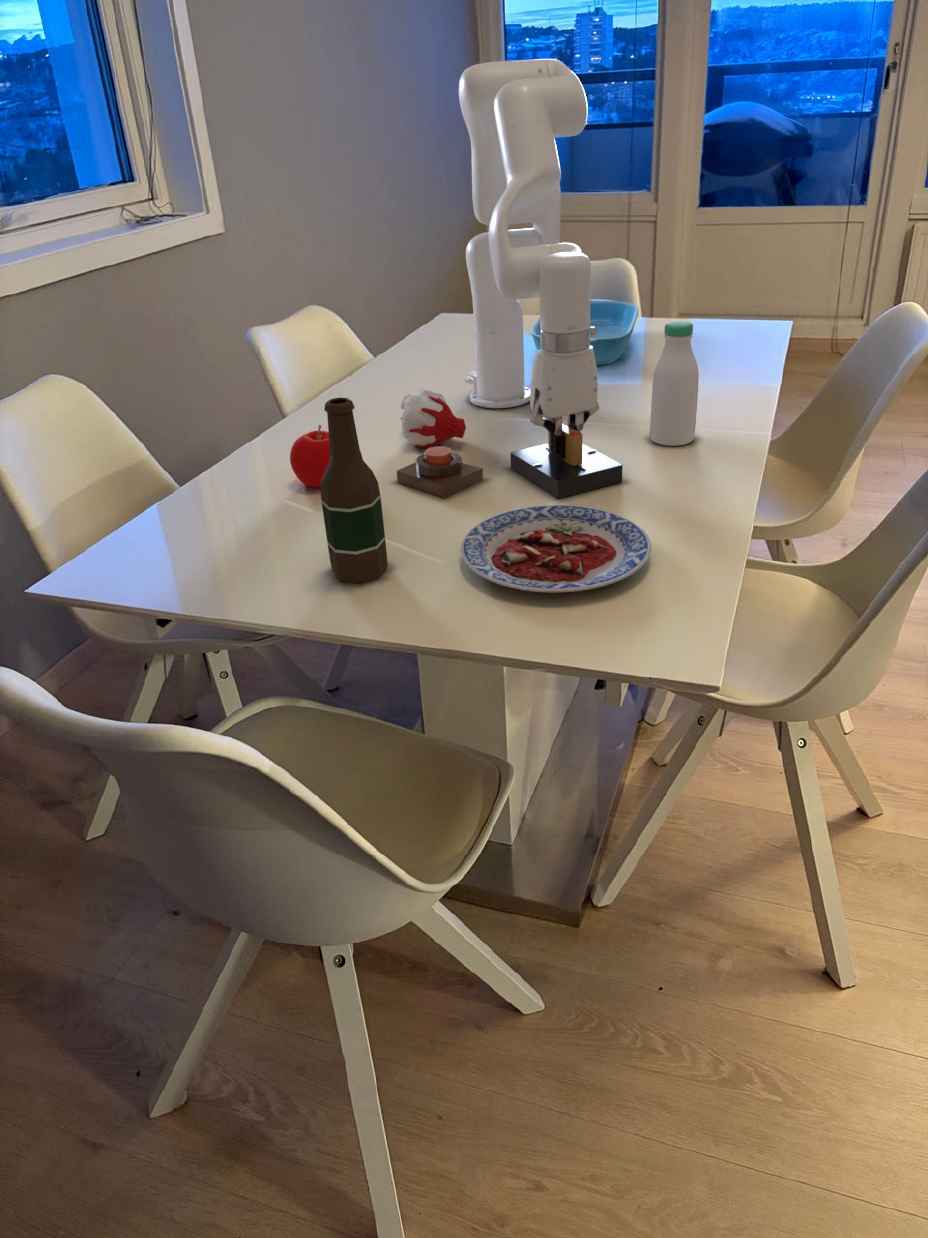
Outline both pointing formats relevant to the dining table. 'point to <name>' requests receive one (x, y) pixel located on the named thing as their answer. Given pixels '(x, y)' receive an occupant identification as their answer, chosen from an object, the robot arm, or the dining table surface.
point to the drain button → (438, 455)
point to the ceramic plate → (556, 548)
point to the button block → (440, 476)
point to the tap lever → (571, 445)
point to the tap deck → (566, 471)
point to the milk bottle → (675, 388)
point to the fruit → (311, 457)
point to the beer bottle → (351, 502)
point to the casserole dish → (605, 328)
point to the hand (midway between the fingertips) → (565, 453)
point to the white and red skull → (429, 419)
